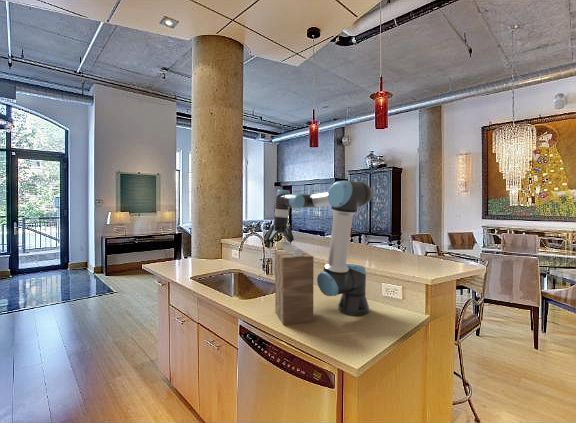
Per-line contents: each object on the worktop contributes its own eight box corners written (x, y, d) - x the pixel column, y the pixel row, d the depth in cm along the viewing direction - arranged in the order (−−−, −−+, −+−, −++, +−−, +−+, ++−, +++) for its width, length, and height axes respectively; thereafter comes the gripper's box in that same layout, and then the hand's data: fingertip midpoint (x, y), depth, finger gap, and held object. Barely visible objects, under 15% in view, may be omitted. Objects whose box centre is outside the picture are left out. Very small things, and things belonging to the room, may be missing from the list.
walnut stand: (275, 312, 156) (275, 251, 155) (302, 310, 160) (302, 250, 159) (283, 325, 141) (283, 257, 140) (313, 322, 144) (313, 255, 143)
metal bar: (281, 247, 166) (281, 242, 166) (286, 247, 167) (286, 242, 167) (295, 256, 141) (295, 250, 141) (301, 256, 142) (301, 249, 142)
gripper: (293, 216, 195) (290, 250, 196) (259, 215, 179) (256, 252, 180) (301, 217, 189) (298, 253, 190) (267, 216, 173) (264, 255, 174)
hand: (278, 253), depth 185 cm, fingers open, 13 cm apart
